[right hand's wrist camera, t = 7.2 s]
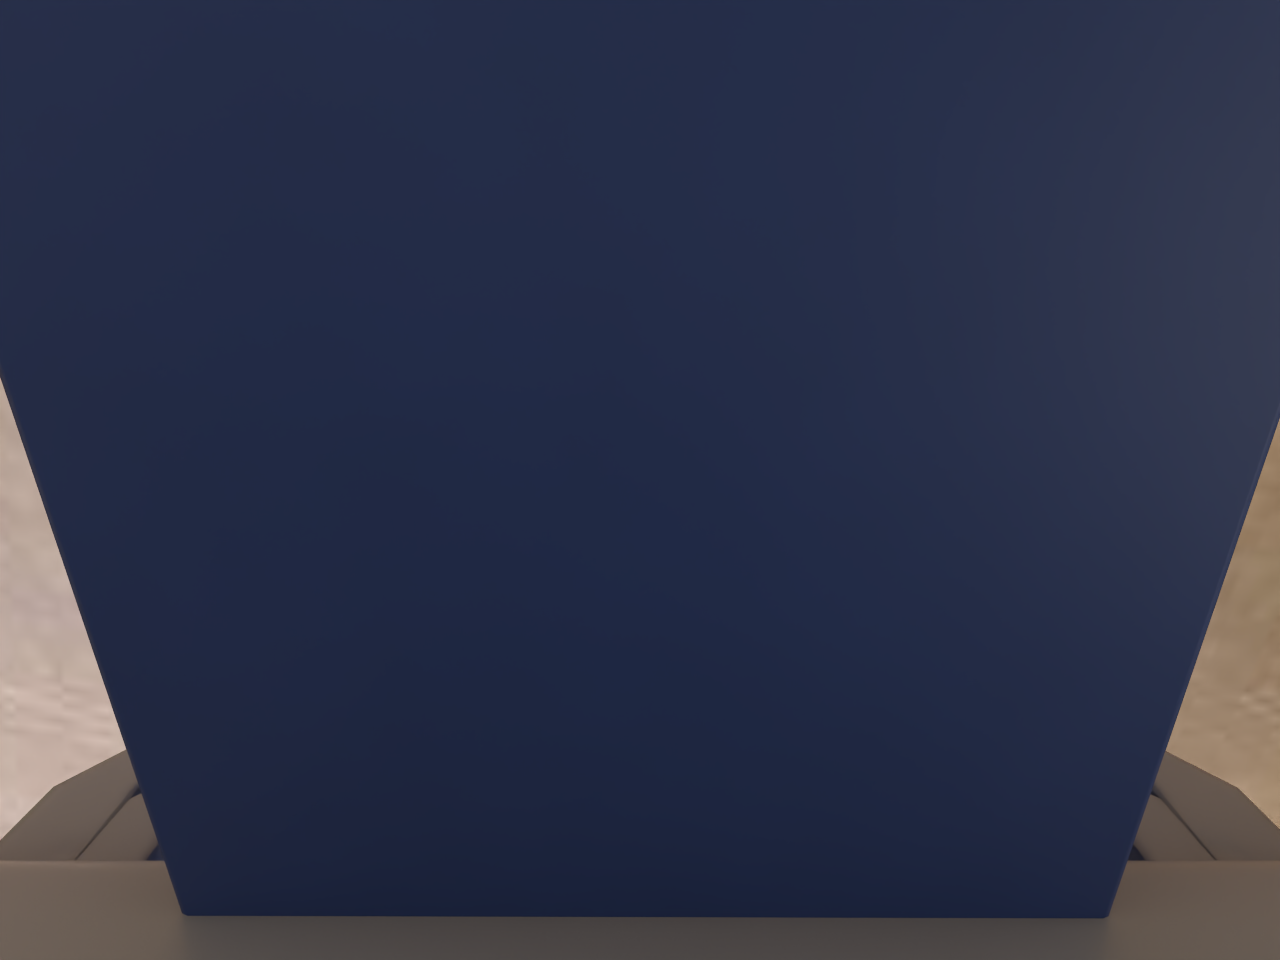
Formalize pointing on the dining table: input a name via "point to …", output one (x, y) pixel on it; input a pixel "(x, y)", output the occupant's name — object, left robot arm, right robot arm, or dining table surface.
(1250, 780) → the dining table surface
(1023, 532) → the box
